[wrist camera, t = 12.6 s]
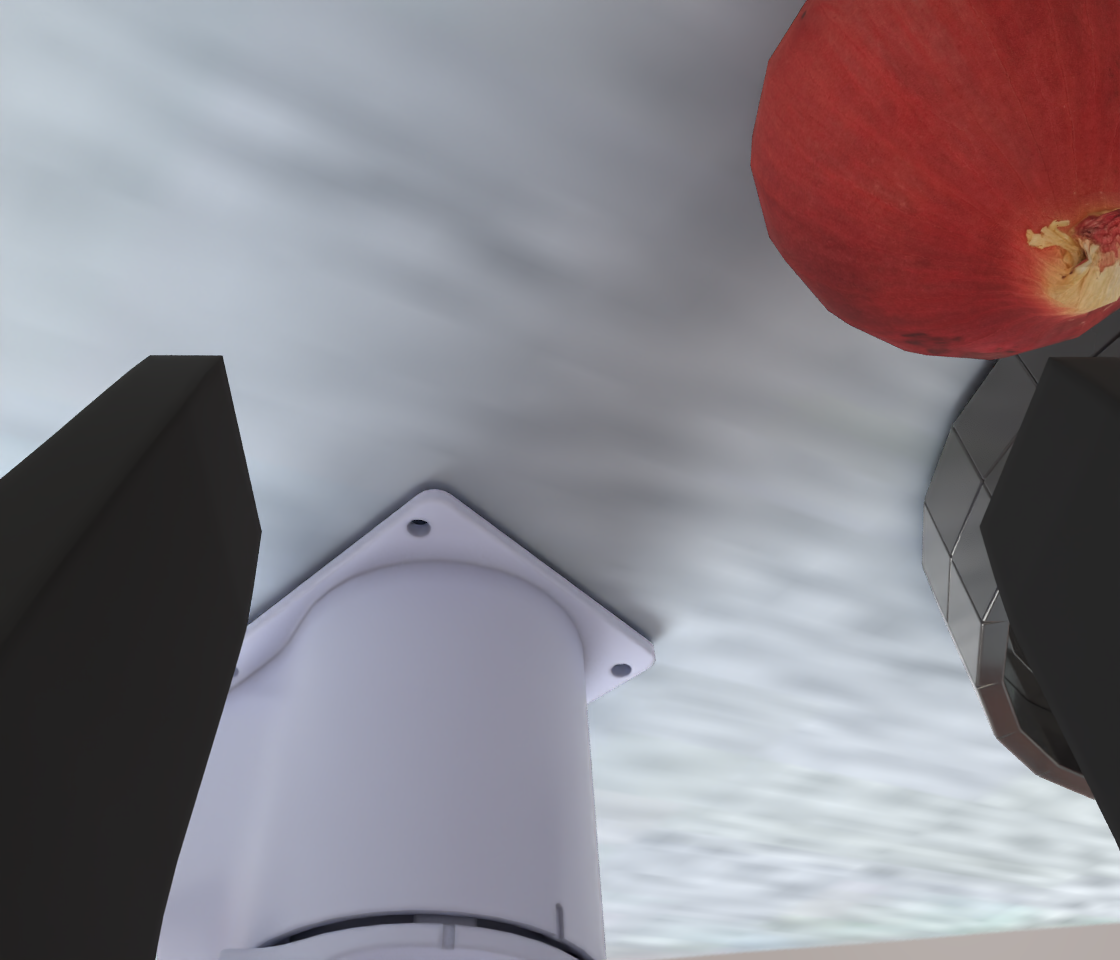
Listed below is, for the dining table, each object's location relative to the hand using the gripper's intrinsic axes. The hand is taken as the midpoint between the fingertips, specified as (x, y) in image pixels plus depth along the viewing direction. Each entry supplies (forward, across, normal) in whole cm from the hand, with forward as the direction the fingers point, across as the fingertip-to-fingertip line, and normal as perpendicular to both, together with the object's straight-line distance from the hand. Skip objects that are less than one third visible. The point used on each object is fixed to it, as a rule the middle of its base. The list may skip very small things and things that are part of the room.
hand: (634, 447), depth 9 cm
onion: (+10, -5, 0) cm, 11 cm away
